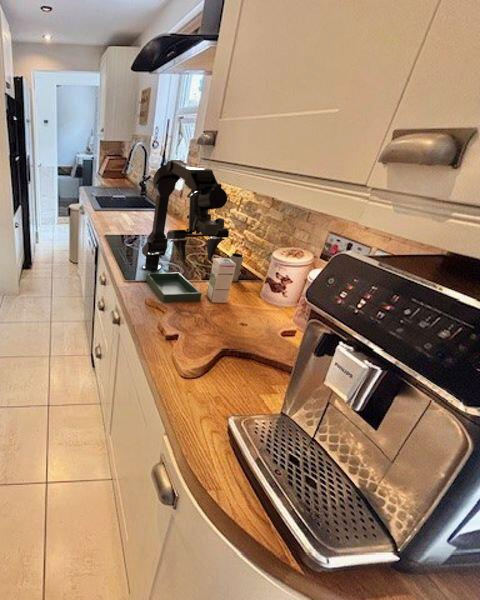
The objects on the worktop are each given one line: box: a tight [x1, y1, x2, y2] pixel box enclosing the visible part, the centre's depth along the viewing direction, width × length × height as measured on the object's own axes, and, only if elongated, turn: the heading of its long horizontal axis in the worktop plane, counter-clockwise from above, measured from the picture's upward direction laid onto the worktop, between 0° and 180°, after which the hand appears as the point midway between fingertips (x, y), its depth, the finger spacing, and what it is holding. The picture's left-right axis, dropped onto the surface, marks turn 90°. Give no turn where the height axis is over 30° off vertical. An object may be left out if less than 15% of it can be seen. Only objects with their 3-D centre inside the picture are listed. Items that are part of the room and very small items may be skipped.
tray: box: [145, 271, 202, 303], centre depth 121 cm, size 20×14×3 cm
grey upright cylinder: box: [229, 253, 245, 282], centre depth 130 cm, size 4×4×10 cm
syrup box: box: [206, 257, 236, 304], centre depth 112 cm, size 6×6×14 cm
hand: (196, 261), depth 105 cm, fingers open, 9 cm apart
